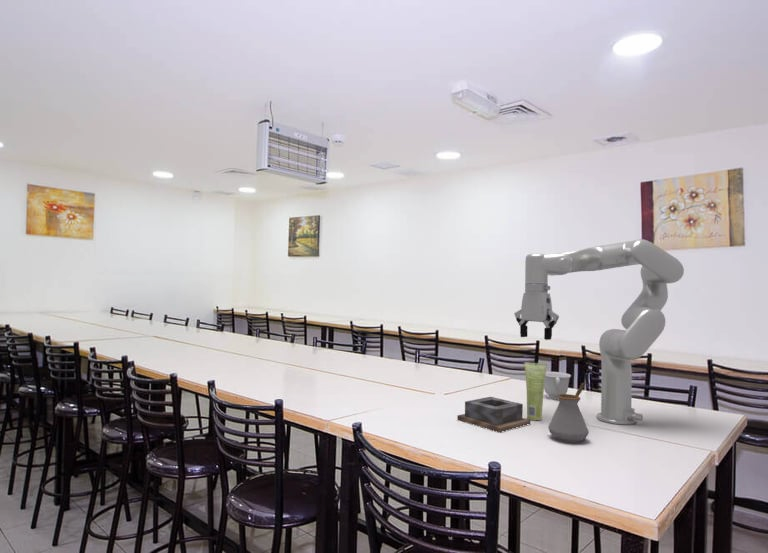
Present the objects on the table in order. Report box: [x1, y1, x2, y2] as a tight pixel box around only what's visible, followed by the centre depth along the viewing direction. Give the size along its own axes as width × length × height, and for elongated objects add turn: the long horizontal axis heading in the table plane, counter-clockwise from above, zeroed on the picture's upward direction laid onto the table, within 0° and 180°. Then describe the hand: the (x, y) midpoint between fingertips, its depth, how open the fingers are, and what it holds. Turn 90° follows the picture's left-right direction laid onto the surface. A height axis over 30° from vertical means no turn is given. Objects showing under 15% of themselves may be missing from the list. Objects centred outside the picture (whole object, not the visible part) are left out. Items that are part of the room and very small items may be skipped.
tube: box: [524, 362, 548, 421], centre depth 169 cm, size 6×5×20 cm
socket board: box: [456, 396, 531, 433], centre depth 164 cm, size 18×16×6 cm
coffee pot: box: [547, 382, 590, 444], centre depth 151 cm, size 21×12×15 cm, turn 141°
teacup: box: [544, 371, 572, 400], centre depth 202 cm, size 12×15×10 cm
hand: (535, 338), depth 170 cm, fingers open, 9 cm apart
